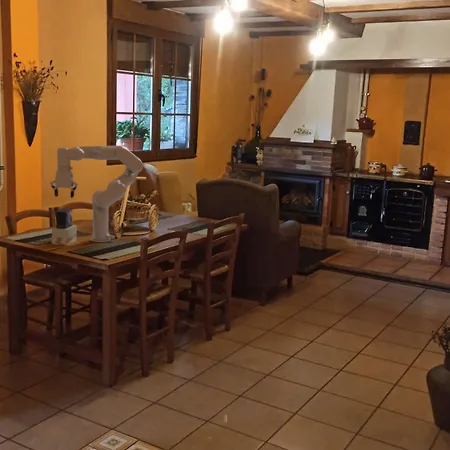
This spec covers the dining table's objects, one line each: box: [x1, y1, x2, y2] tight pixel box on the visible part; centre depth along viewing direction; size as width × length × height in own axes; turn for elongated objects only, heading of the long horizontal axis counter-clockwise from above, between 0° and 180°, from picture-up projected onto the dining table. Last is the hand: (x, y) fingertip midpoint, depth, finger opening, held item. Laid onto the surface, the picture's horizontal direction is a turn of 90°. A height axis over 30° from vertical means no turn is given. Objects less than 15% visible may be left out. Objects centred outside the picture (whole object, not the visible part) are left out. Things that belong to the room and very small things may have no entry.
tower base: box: [51, 233, 77, 246], centre depth 362 cm, size 10×14×5 cm
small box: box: [55, 208, 73, 229], centre depth 360 cm, size 11×6×10 cm, turn 171°
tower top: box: [51, 224, 78, 238], centre depth 361 cm, size 10×14×5 cm
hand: (64, 196), depth 357 cm, fingers open, 9 cm apart
